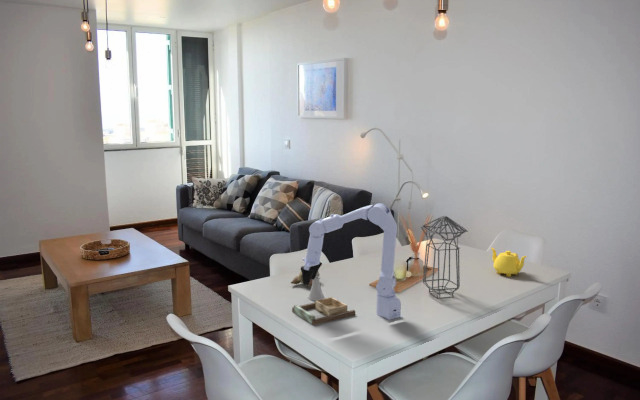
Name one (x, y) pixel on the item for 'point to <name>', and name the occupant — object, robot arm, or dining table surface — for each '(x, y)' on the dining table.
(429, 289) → the geometric lantern
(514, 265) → the teapot
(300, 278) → the ceramic sculpture
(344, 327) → the dining table surface
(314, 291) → the flask
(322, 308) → the light wooden drawer
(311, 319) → the bay
